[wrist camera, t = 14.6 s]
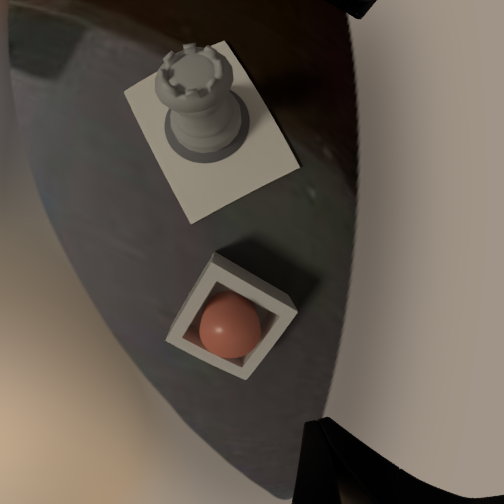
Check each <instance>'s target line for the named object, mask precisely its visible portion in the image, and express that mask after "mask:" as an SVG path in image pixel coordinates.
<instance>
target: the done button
mask: <svg viewBox="0 0 504 504" xmlns="http://www.w3.org/2000/svg"><path fill="white" fill-rule="evenodd" d="M199 333H200V338H201V341H202V343H203V345H204V346H205V347H206V348H207V349H208V350H209V351H210V352H211V353H213V354H215V355H217V356H220V357H223V358H238V357H241V356H244V355H246V354H248V353H249V352H251V351H252V350H253V349H254V348H255V347H256V345H257V344H258V342H259V340H260V336H261V328H260V323H259V319H258V315H257V311H256V307H255V305H254V303H253V302H252V301H251V300H249V299H248V298H246V297H244V296H242V295H241V294H239V293H237V292H235V291H224V292H220V293H218V294H216V295H214V296H212V297H211V298H210V299H209V300H208V302H207V303H206V305H205V307H204V310H203V315H202V319H201V324H200V330H199Z"/></svg>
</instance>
